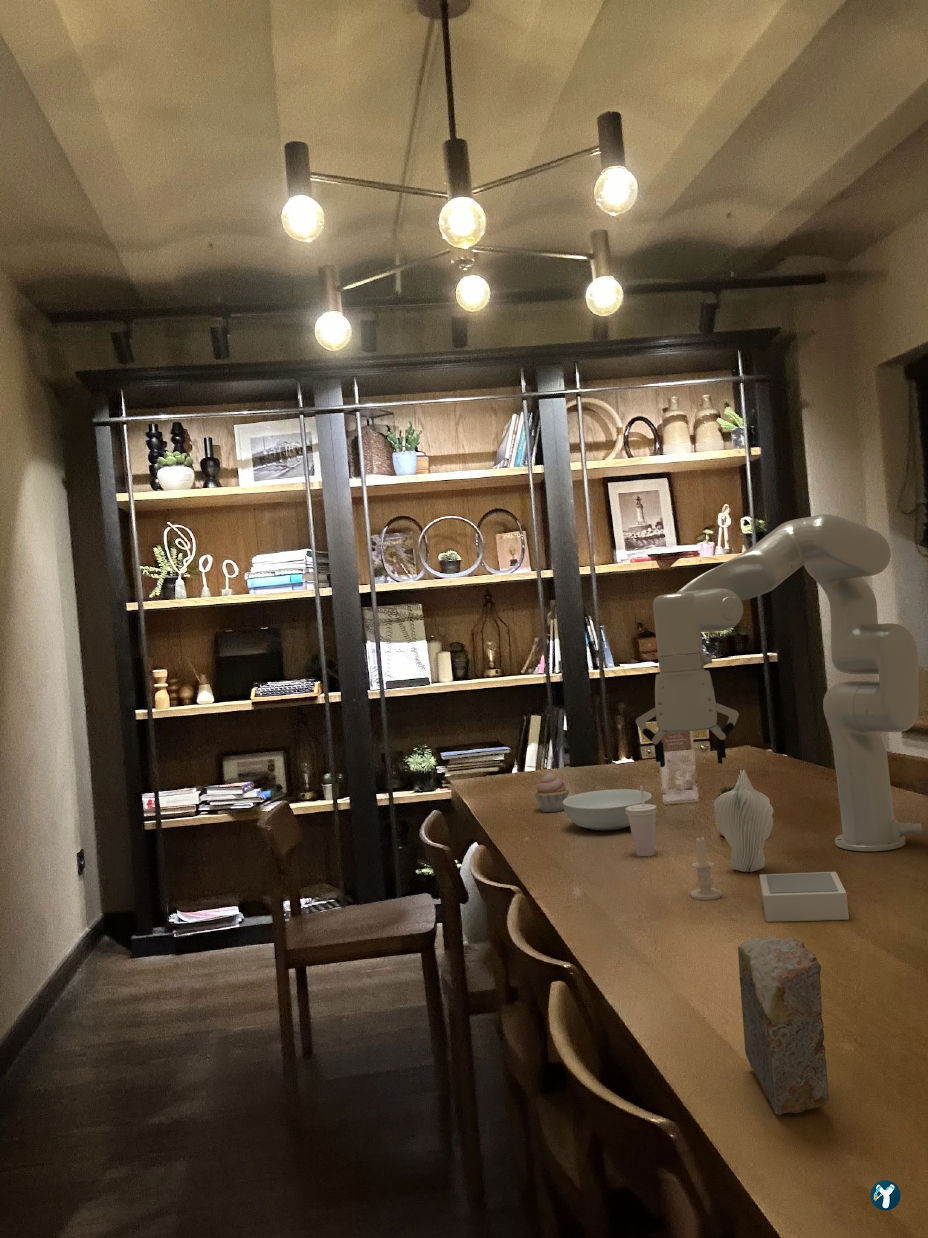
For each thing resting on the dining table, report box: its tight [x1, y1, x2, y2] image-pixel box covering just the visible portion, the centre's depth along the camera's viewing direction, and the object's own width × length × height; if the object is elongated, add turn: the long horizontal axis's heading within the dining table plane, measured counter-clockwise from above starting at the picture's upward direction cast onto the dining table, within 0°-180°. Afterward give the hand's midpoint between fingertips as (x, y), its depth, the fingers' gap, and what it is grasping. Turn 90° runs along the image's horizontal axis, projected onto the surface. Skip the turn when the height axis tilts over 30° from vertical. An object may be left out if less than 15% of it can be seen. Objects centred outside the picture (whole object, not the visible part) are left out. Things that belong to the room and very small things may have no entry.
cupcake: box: [533, 771, 570, 813], centre depth 253 cm, size 9×9×10 cm
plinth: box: [759, 871, 850, 923], centre depth 153 cm, size 12×12×4 cm
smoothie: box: [626, 785, 658, 857], centre depth 197 cm, size 6×6×14 cm
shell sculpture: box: [713, 769, 774, 873], centre depth 178 cm, size 8×8×18 cm
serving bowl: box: [563, 788, 653, 832], centre depth 227 cm, size 21×21×7 cm
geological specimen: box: [737, 936, 830, 1116], centre depth 97 cm, size 11×6×15 cm, turn 178°
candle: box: [690, 836, 723, 901], centre depth 165 cm, size 5×5×10 cm
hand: (691, 764), depth 165 cm, fingers open, 9 cm apart
